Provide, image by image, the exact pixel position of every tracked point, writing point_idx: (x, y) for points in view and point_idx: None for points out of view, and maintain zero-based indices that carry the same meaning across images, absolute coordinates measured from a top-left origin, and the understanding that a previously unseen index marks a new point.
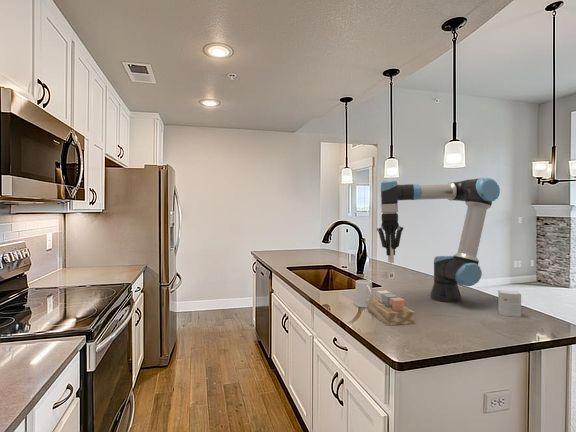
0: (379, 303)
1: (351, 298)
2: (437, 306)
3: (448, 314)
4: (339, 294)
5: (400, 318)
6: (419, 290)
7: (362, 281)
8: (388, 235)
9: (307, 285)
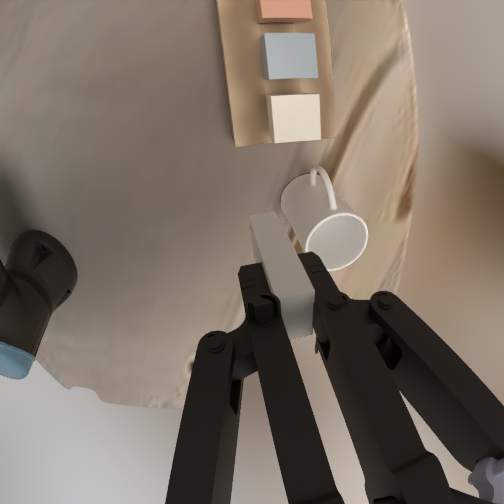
0: None
1: None
2: (70, 186)
3: (64, 100)
4: None
5: None
6: (100, 332)
7: (327, 264)
8: (413, 447)
9: None
